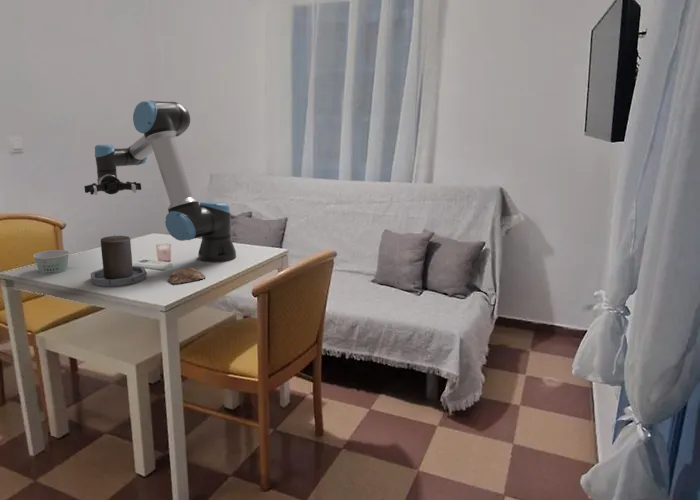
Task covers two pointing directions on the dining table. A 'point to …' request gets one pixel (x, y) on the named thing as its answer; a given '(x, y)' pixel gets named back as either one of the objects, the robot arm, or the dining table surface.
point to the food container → (52, 261)
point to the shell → (185, 276)
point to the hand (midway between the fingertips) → (115, 190)
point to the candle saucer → (99, 279)
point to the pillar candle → (116, 257)
